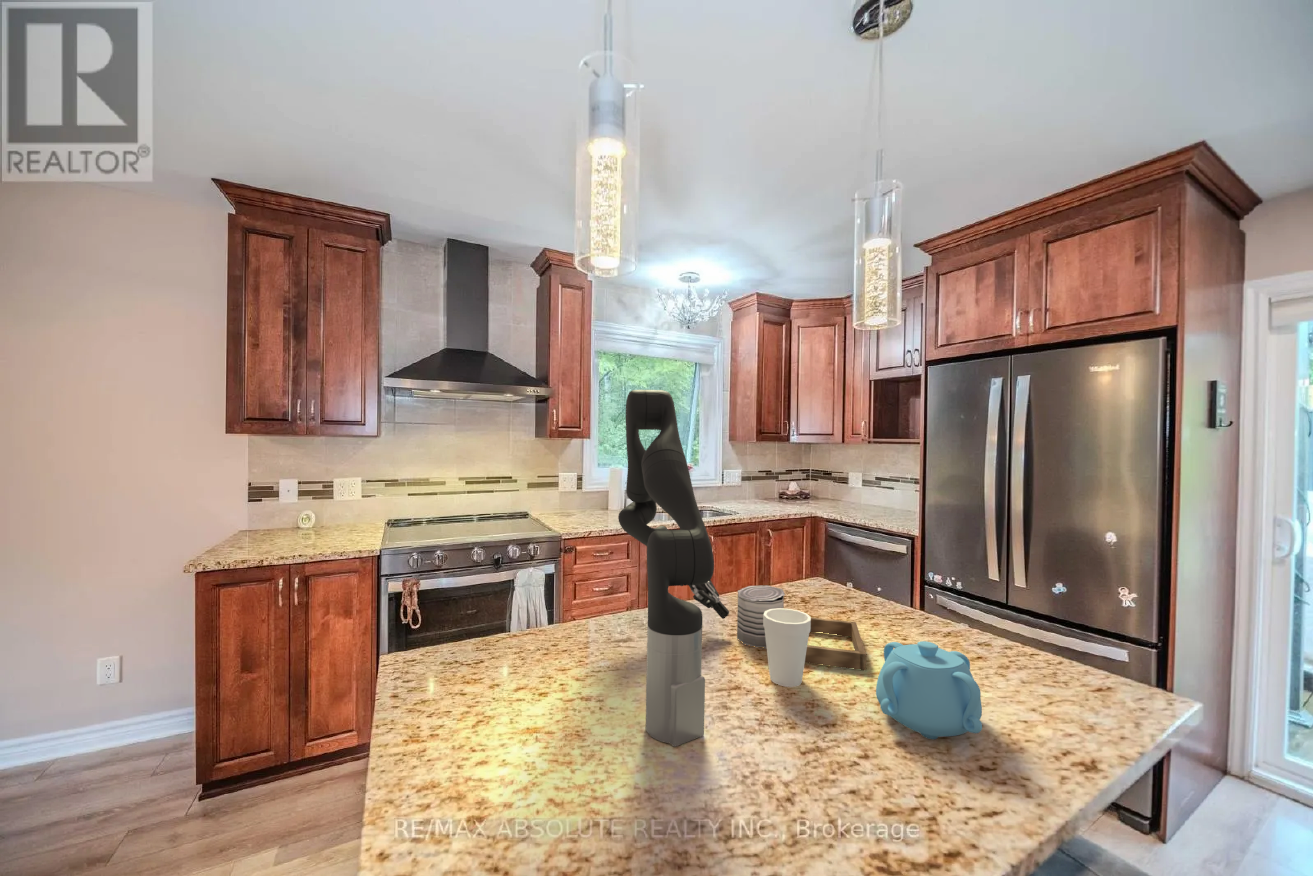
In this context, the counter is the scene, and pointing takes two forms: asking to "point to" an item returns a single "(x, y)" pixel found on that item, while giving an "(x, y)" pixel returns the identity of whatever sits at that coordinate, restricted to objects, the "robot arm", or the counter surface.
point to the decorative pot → (929, 690)
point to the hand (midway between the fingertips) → (726, 615)
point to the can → (756, 612)
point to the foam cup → (786, 644)
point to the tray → (832, 654)
